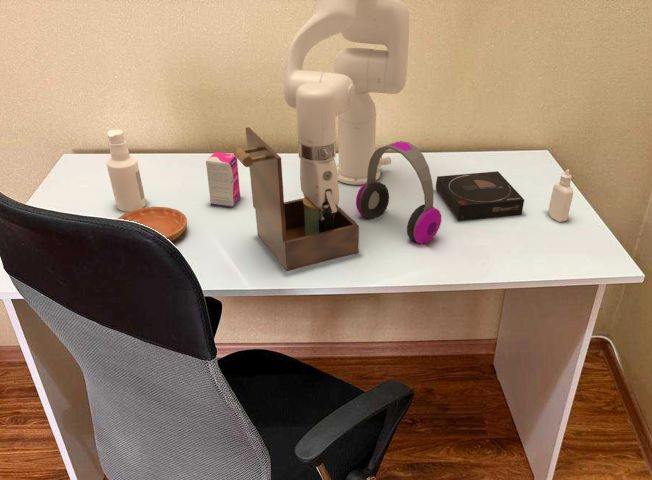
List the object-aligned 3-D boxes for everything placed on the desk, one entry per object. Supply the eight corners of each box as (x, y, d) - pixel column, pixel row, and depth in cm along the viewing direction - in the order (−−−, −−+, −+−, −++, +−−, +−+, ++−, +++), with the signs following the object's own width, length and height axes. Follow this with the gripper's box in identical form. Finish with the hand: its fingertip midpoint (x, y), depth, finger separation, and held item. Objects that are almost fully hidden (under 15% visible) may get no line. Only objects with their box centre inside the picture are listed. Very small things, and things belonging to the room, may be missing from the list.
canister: (326, 230, 150) (325, 191, 144) (339, 243, 146) (339, 203, 139) (299, 236, 147) (297, 196, 141) (312, 250, 143) (310, 210, 137)
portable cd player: (494, 184, 173) (497, 170, 170) (521, 214, 160) (524, 199, 158) (435, 190, 170) (436, 175, 167) (457, 221, 157) (459, 205, 154)
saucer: (144, 212, 157) (142, 200, 155) (202, 225, 152) (200, 213, 150) (99, 243, 145) (96, 231, 143) (161, 258, 141) (158, 246, 139)
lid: (249, 127, 133) (222, 131, 130) (281, 157, 121) (252, 163, 119) (256, 206, 144) (232, 211, 141) (286, 240, 132) (260, 247, 130)
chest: (325, 222, 155) (324, 193, 150) (358, 256, 143) (359, 225, 139) (257, 238, 148) (255, 208, 144) (286, 274, 137) (284, 243, 132)
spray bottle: (152, 202, 160) (137, 129, 149) (133, 214, 156) (116, 140, 144) (130, 196, 163) (113, 124, 151) (110, 208, 158) (92, 134, 146)
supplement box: (233, 208, 159) (228, 163, 152) (210, 205, 160) (203, 160, 153) (241, 198, 164) (237, 153, 156) (219, 195, 164) (213, 151, 157)
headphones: (443, 238, 150) (452, 154, 138) (417, 252, 145) (424, 165, 133) (377, 207, 161) (380, 126, 149) (352, 219, 156) (352, 136, 144)
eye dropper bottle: (565, 212, 162) (576, 165, 154) (567, 223, 157) (578, 175, 150) (547, 210, 162) (557, 164, 154) (548, 221, 158) (558, 174, 150)
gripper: (353, 161, 129) (352, 242, 140) (315, 131, 141) (318, 208, 152) (318, 168, 126) (320, 250, 137) (283, 137, 138) (288, 214, 149)
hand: (319, 227), depth 144 cm, fingers closed on canister, 6 cm apart
